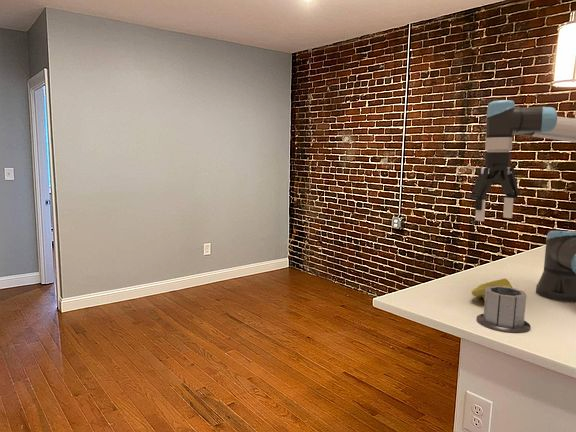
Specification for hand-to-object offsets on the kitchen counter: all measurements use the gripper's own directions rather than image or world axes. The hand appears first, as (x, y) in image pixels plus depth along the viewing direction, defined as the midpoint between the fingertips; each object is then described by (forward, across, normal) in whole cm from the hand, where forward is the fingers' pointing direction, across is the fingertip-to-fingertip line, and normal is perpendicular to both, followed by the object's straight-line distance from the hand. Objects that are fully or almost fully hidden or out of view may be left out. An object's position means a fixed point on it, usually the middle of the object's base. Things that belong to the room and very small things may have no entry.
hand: (493, 219), depth 139 cm
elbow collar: (+27, +12, +13) cm, 32 cm away
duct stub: (+28, +12, +13) cm, 33 cm away
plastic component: (+28, -4, -2) cm, 29 cm away
